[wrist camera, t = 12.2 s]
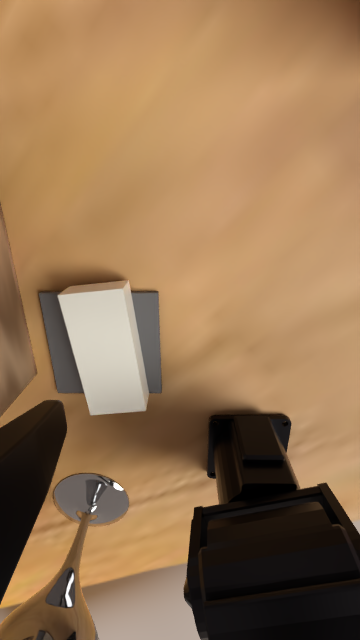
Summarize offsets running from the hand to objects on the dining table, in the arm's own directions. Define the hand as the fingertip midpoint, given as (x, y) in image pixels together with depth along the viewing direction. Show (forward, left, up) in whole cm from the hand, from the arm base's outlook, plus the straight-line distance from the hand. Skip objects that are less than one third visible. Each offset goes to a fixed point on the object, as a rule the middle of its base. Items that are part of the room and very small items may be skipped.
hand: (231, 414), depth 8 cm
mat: (-4, +7, -13) cm, 15 cm away
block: (-4, +6, -13) cm, 15 cm away
